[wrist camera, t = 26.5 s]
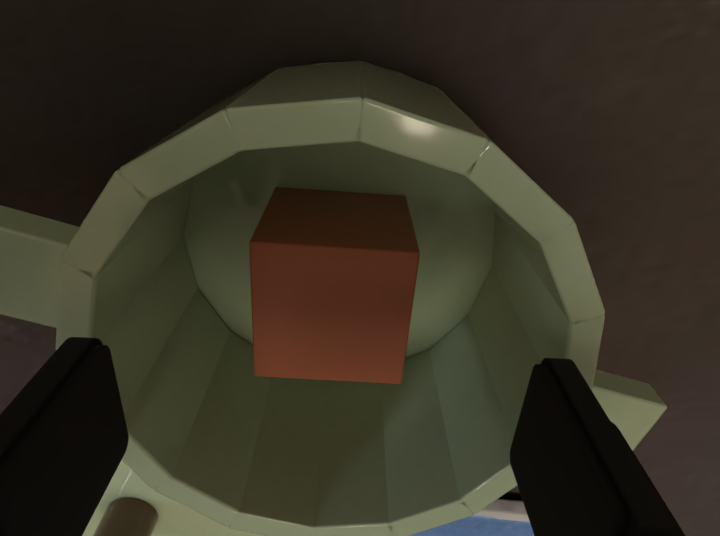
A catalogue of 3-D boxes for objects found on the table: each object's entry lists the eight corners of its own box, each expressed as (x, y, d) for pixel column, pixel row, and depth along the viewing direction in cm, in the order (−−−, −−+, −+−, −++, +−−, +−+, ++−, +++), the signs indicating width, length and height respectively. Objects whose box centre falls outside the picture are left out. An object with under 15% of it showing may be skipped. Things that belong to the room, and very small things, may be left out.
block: (275, 299, 19) (253, 376, 15) (275, 186, 17) (248, 241, 13) (392, 306, 19) (401, 385, 15) (406, 195, 17) (420, 252, 13)
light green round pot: (490, 420, 23) (545, 592, 16) (81, 317, 20) (-59, 471, 13) (646, 158, 17) (831, 255, 10) (107, -31, 14) (-109, -63, 8)
